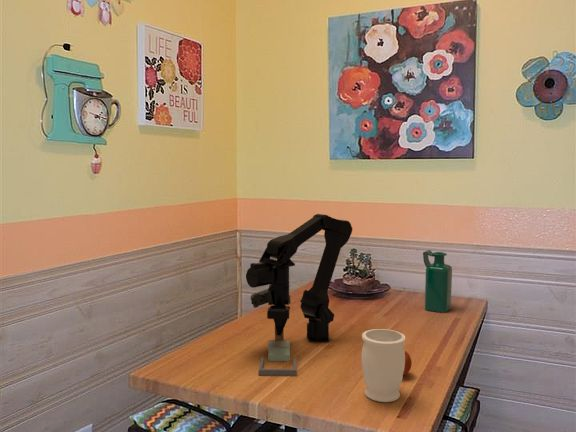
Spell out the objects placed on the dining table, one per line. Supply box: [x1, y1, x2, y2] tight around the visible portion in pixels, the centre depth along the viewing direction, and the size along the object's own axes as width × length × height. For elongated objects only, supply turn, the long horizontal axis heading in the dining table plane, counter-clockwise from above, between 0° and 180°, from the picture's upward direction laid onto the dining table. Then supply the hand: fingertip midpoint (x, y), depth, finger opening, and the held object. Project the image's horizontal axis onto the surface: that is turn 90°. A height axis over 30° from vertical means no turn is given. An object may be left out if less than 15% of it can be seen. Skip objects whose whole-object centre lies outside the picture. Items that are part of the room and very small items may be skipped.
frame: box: [258, 356, 297, 377], centre depth 146 cm, size 10×9×2 cm
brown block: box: [267, 326, 291, 352], centre depth 158 cm, size 6×4×9 cm, turn 88°
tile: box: [267, 346, 291, 362], centre depth 154 cm, size 6×6×2 cm
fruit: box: [403, 350, 413, 376], centre depth 141 cm, size 7×7×8 cm
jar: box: [361, 328, 406, 403], centre depth 129 cm, size 11×10×15 cm
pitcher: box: [422, 249, 453, 314], centre depth 201 cm, size 10×8×22 cm
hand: (279, 333), depth 159 cm, fingers closed on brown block, 3 cm apart
